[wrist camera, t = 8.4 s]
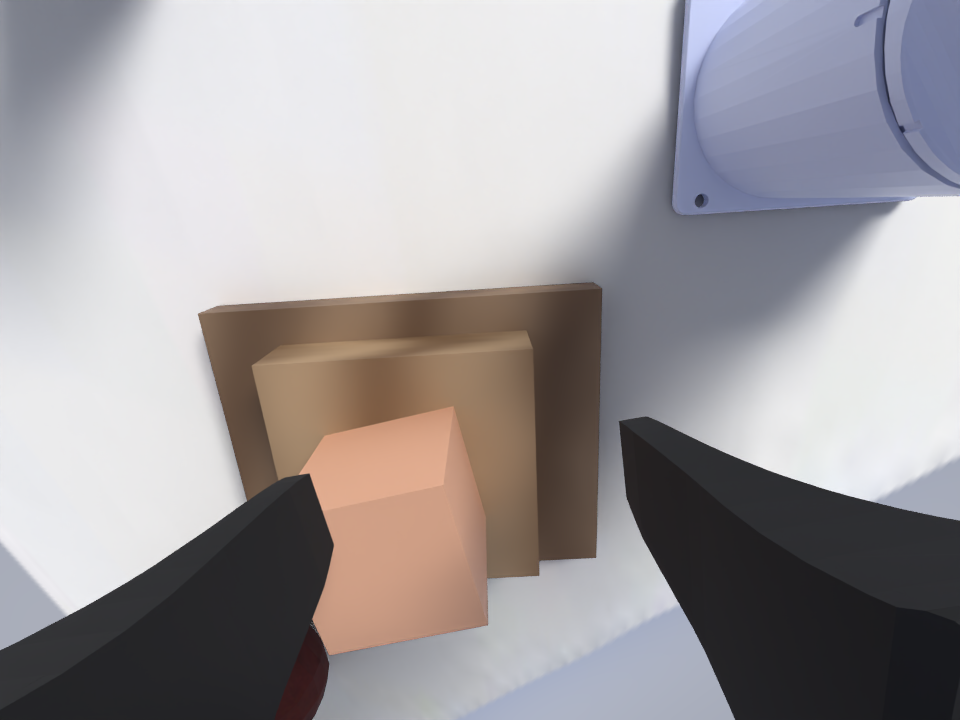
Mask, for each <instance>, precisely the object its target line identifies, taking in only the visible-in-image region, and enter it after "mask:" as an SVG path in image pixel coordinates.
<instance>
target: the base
mask: <svg viewBox="0 0 960 720" xmlns="http://www.w3.org/2000/svg"><path fill="white" fill-rule="evenodd" d="M601 312H602V288H600V287H599V286H598V285H596V284H595V283H593V282H591V283H575V284H559V285H543V286H527V287H511V288H495V289H479V290H463V291H447V292H431V293H415V294H399V295H383V296H367V297H351V298H336V299H320V300H304V301H288V302H272V303H256V304H240V305H224V306H216V307H214V308H211V309H209V310H206V311H204V312H201V313H199V314H198V316H199V320H200V324H201V328H202V331H203V335H204V339H205V343H206V347H207V350H208V354H209V358H210V362H211V366H212V369H213V373H214V377H215V381H216V384H217V388H218V392H219V396H220V400H221V403H222V407H223V411H224V415H225V418H226V422H227V426H228V430H229V434H230V437H231V441H232V445H233V449H234V453H235V456H236V460H237V464H238V468H239V471H240V475H241V479H242V483H243V487H244V490H245V494H246V498H247V501H248V500H250V499H251V498H252V497H254V496H255V495H257V494H258V493H260V492H261V491H263V490H264V489H266V488H267V487H269V486H270V485H272V484H274V483H275V482H277V481H279V480H281V479H283V478H285V477H291V476H296V475H299V473H300V472H301V470H302V469H303V467H304V466H305V464H306V463H307V461H308V460H309V458H310V457H311V455H312V454H313V452H314V451H315V449H316V448H317V446H318V445H319V443H320V442H321V440H322V439H323V437H324V436H326V435H330V434H334V433H339V432H343V431H347V430H352V429H356V428H361V427H365V426H369V425H374V424H378V423H382V422H387V421H391V420H395V419H400V418H404V417H409V416H413V415H417V414H422V413H426V412H430V411H435V410H439V409H444V408H448V407H452V406H454V410H455V413H456V417H457V420H458V424H459V427H460V430H461V434H462V437H463V441H464V444H465V447H466V451H467V454H468V458H469V461H470V465H471V468H472V471H473V475H474V478H475V482H476V485H477V489H478V492H479V495H480V499H481V502H482V506H483V509H484V512H485V516H486V549H487V578H503V577H523V576H539V561H541V560H561V559H581V558H596V541H597V495H598V449H599V403H600V358H601Z"/></svg>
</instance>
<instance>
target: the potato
mask: <svg viewBox="0 0 960 720" xmlns="http://www.w3.org/2000/svg"><path fill="white" fill-rule="evenodd" d="M328 670H329V662H328V658H327V655H326V651H325V649H324V646H323V643H322V641H321V638H320V637H319V635H318V634H317V633H316V632H315V631H314V630H313V629H312V627H311V626H309V629H308V631H307V634H306V636H305V639H304V641H303V644H302V646H301V649H300V652H299V654H298V657H297V659H296V662H295V664H294V667H293V669H292V672H291V675H290V677H289V680H288V682H287V685H286V687H285V690H284V693H283V696H282V699H281V701H280V704H279V707H278V710H277V713H276V716H275V720H312V719H313V717H314V716H315V714H316V712H317V709H318V707H319V705H320V703H321V700H322V698H323V695H324V691H325V687H326V683H327V678H328Z"/></svg>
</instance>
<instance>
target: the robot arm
mask: <svg viewBox="0 0 960 720" xmlns="http://www.w3.org/2000/svg"><path fill="white" fill-rule="evenodd" d="M699 194H701V195H702V196H703V197H704V202H703V204H702V205H701V206H700V207H697V206H696V205H695V199H696V197H697V196H698V195H699ZM927 196H960V0H686V2H685V17H684V32H683V47H682V62H681V77H680V92H679V107H678V122H677V137H676V152H675V167H674V182H673V197H672V205H673V209H674V210H675V212H677V213H678V214H681V215H697V214H712V213H728V212H743V211H758V210H773V209H789V208H804V207H819V206H835V205H850V204H865V203H881V202H896V201H909V200H913V199H915V198H916V197H927ZM619 425H620V436H621V446H622V456H623V466H624V476H625V486H626V496H627V500H628V503H629V505H630V508H631V510H632V513H633V516H634V518H635V521H636V523H637V525H638V528H639V530H640V533H641V535H642V537H643V539H644V541H645V543H646V545H647V547H648V548H649V550H650V552H651V554H652V556H653V558H654V559H655V561H656V563H657V565H658V567H659V568H660V570H661V572H662V574H663V575H664V577H665V579H666V581H667V583H668V584H669V586H670V588H671V590H672V592H673V593H674V595H675V597H676V599H677V600H678V602H679V604H680V606H681V608H682V609H683V611H684V613H685V615H686V616H687V618H688V620H689V622H690V624H691V625H692V627H693V629H694V631H695V633H696V635H697V637H698V638H699V641H700V643H701V645H702V646H703V648H704V650H705V652H706V654H707V657H708V659H709V661H710V664H711V666H712V668H713V670H714V673H715V675H716V677H717V679H718V681H719V684H720V686H721V688H722V691H723V693H724V695H725V697H726V700H727V702H728V704H729V706H730V709H731V711H732V713H733V715H734V718H735V720H960V521H958V520H953V519H947V518H942V517H936V516H932V515H927V514H922V513H917V512H912V511H907V510H903V509H899V508H894V507H891V506H887V505H882V504H878V503H874V502H870V501H866V500H862V499H858V498H854V497H850V496H847V495H843V494H840V493H836V492H832V491H829V490H825V489H822V488H819V487H816V486H813V485H810V484H807V483H803V482H800V481H797V480H794V479H791V478H788V477H785V476H782V475H779V474H777V473H774V472H771V471H768V470H766V469H763V468H761V467H758V466H756V465H753V464H751V463H748V462H746V461H743V460H741V459H738V458H736V457H733V456H731V455H729V454H726V453H724V452H722V451H720V450H717V449H715V448H713V447H711V446H709V445H706V444H704V443H702V442H700V441H698V440H696V439H694V438H692V437H690V436H688V435H685V434H683V433H681V432H679V431H677V430H675V429H673V428H671V427H669V426H667V425H665V424H663V423H661V422H659V421H656V420H654V419H652V418H649V417H640V418H634V419H629V420H623V421H619ZM333 548H334V543H333V540H332V537H331V534H330V531H329V528H328V525H327V523H326V520H325V517H324V514H323V511H322V508H321V505H320V502H319V500H318V497H317V494H316V491H315V488H314V485H313V482H312V479H311V476H310V474H309V473H308V474H302V475H296V476H291V477H285V478H283V479H281V480H279V481H277V482H275V483H274V484H272V485H270V486H269V487H267V488H266V489H264V490H263V491H261V492H260V493H258V494H257V495H255V496H254V497H252V498H251V499H250V500H248V501H247V502H245V503H244V504H243V505H241V506H240V507H238V508H237V509H236V510H234V511H233V512H231V513H230V514H229V515H227V516H226V517H224V518H223V519H222V520H220V521H219V522H217V523H216V524H215V525H213V526H212V527H210V528H209V529H208V530H206V531H205V532H203V533H202V534H200V535H199V536H197V537H196V538H194V539H193V540H191V541H190V542H188V543H187V544H185V545H184V546H183V547H181V548H180V549H178V550H177V551H175V552H174V553H172V554H171V555H169V556H168V557H166V558H165V559H163V560H162V561H160V562H159V563H157V564H156V565H154V566H153V567H151V568H150V569H148V570H146V571H145V572H143V573H142V574H140V575H138V576H137V577H135V578H133V579H132V580H130V581H129V582H127V583H125V584H124V585H122V586H120V587H118V588H117V589H115V590H113V591H112V592H110V593H108V594H106V595H105V596H103V597H101V598H100V599H98V600H96V601H94V602H93V603H91V604H89V605H87V606H85V607H84V608H82V609H80V610H78V611H76V612H74V613H72V614H70V615H68V616H67V617H65V618H63V619H61V620H59V621H57V622H55V623H53V624H51V625H49V626H47V627H46V628H44V629H42V630H40V631H38V632H36V633H34V634H32V635H30V636H28V637H26V638H24V639H23V640H21V641H19V642H17V643H15V644H13V645H11V646H9V647H7V648H4V649H2V650H0V720H275V716H276V713H277V710H278V707H279V704H280V701H281V699H282V696H283V693H284V690H285V687H286V685H287V682H288V680H289V677H290V675H291V672H292V669H293V667H294V664H295V662H296V659H297V657H298V654H299V652H300V649H301V646H302V644H303V641H304V639H305V636H306V634H307V631H308V629H309V626H310V624H311V621H312V618H313V616H314V613H315V610H316V608H317V605H318V603H319V600H320V597H321V595H322V592H323V589H324V586H325V582H326V579H327V575H328V571H329V567H330V562H331V557H332V553H333Z"/></svg>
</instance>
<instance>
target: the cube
mask: <svg viewBox="0 0 960 720" xmlns="http://www.w3.org/2000/svg"><path fill="white" fill-rule="evenodd" d="M308 473H309V474H310V476H311V479H312V482H313V485H314V488H315V491H316V494H317V497H318V500H319V502H320V505H321V508H322V511H323V514H324V517H325V520H326V523H327V525H328V528H329V531H330V534H331V537H332V540H333V543H334V548H333V553H332V557H331V562H330V567H329V571H328V575H327V579H326V582H325V586H324V589H323V592H322V595H321V597H320V600H319V603H318V605H317V608H316V610H315V613H314V616H313V618H312V620H313V622H314V624H315V626H316V629H317V631H318V633H319V635H320V637H321V639H322V641H323V643H324V645H325V647H326V650H327V652H328V654H329V655H334V654H339V653H344V652H349V651H355V650H360V649H365V648H370V647H376V646H381V645H386V644H391V643H397V642H402V641H407V640H413V639H418V638H423V637H428V636H434V635H439V634H444V633H449V632H455V631H460V630H465V629H470V628H476V627H481V626H486V625H488V600H487V549H486V516H485V512H484V509H483V506H482V502H481V499H480V495H479V492H478V489H477V485H476V482H475V478H474V475H473V471H472V468H471V465H470V461H469V458H468V454H467V451H466V447H465V444H464V441H463V437H462V434H461V430H460V427H459V424H458V420H457V417H456V413H455V410H454V406H452V407H448V408H444V409H439V410H435V411H430V412H426V413H422V414H417V415H413V416H409V417H404V418H400V419H395V420H391V421H387V422H382V423H378V424H374V425H369V426H365V427H361V428H356V429H352V430H347V431H343V432H339V433H334V434H330V435H326V436H324V437H323V439H322V440H321V442H320V443H319V445H318V446H317V448H316V449H315V451H314V452H313V454H312V455H311V457H310V458H309V460H308V461H307V463H306V464H305V466H304V467H303V469H302V470H301V472H300V473H299V475H302V474H308Z"/></svg>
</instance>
